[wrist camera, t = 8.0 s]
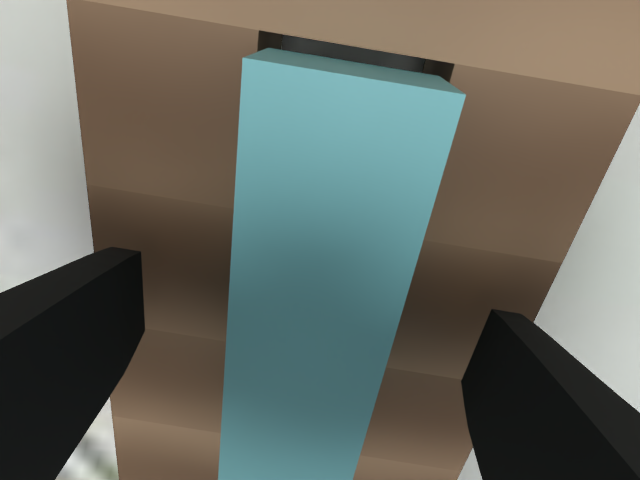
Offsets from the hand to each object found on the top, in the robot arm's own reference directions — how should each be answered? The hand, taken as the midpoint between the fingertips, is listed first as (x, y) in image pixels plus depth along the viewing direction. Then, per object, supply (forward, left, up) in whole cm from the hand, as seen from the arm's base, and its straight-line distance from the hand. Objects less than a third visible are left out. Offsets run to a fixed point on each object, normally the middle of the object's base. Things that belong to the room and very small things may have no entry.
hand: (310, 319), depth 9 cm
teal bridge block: (0, 0, -4) cm, 4 cm away
